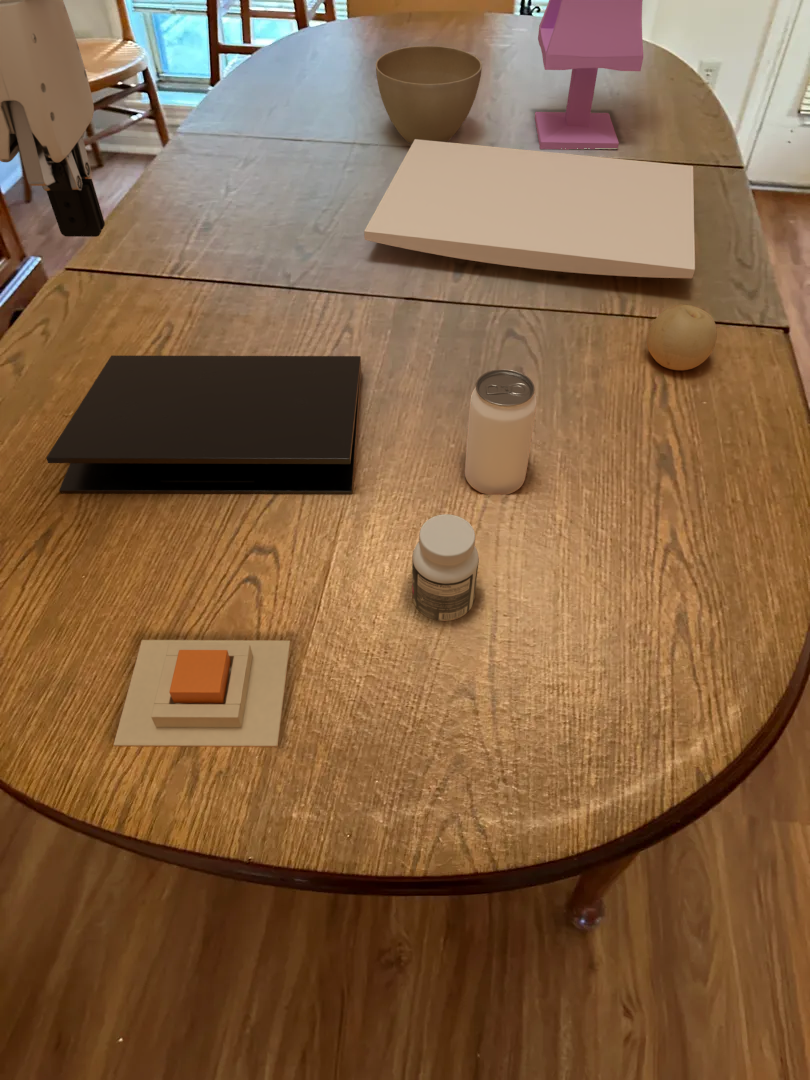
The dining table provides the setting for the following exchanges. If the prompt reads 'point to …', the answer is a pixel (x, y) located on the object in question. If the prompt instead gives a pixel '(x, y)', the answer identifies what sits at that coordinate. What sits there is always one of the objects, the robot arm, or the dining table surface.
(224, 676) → the push button
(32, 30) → the robot arm
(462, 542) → the pill bottle
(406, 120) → the flower pot
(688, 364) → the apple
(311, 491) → the laptop
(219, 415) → the laptop screen
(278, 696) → the stepped tan base
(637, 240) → the board
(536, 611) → the dining table surface
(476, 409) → the can
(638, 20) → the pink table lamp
